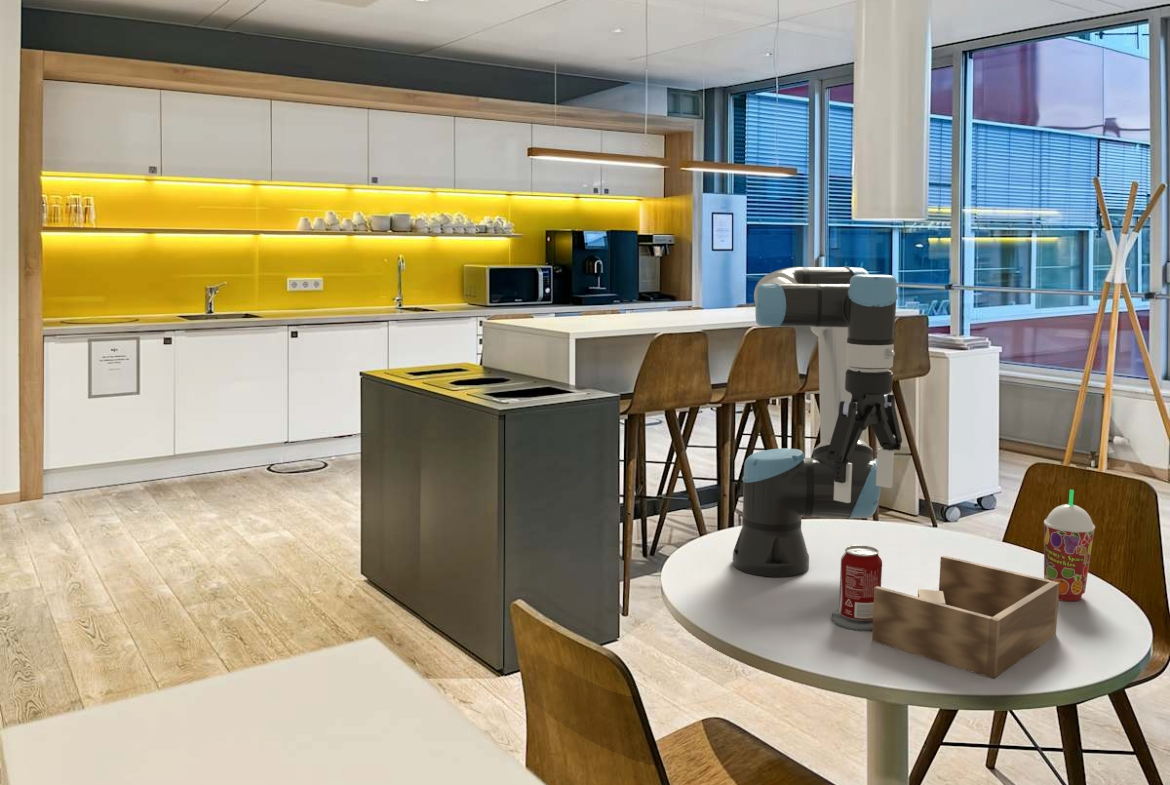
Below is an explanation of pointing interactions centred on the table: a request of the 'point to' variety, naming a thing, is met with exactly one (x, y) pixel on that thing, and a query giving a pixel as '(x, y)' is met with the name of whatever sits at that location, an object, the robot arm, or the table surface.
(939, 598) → the offcut top
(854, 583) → the soda can
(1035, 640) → the open wooden box
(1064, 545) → the smoothie
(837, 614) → the coaster
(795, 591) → the table surface
